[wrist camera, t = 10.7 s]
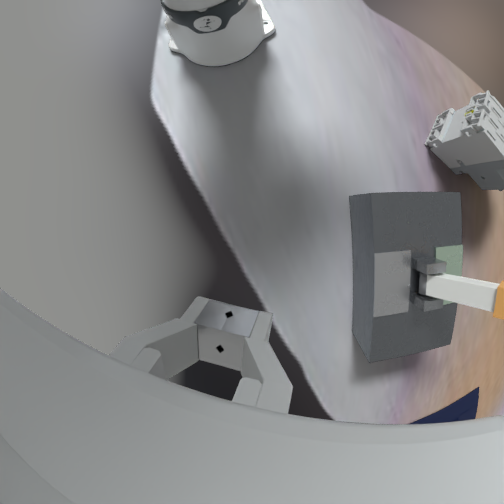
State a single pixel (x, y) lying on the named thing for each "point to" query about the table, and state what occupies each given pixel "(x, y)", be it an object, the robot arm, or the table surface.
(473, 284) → the lever
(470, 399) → the dark blue panel
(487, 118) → the circuit breaker
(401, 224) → the box
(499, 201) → the table surface
